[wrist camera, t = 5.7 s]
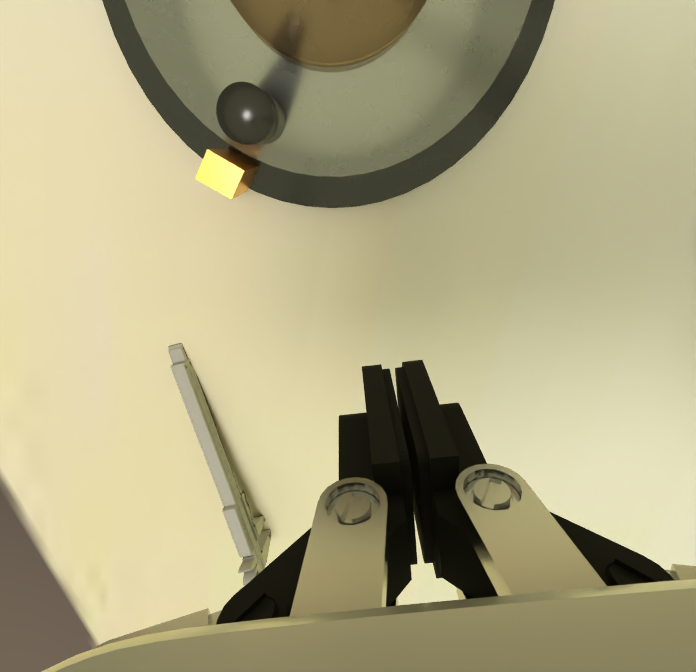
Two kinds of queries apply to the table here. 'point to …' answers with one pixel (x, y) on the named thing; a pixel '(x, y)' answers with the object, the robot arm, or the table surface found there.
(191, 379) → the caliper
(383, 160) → the turntable
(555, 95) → the table surface
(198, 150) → the base
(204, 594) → the table surface
